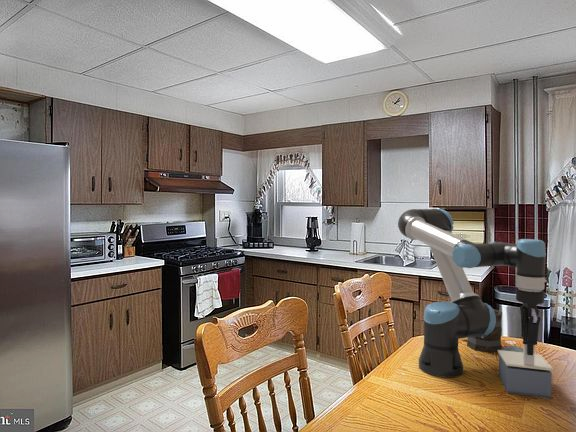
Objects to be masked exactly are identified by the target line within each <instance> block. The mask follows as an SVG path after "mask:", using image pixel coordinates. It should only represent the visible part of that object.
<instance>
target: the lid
mask: <svg viewBox="0 0 576 432" xmlns="http://www.w3.org/2000/svg"><path fill="white" fill-rule="evenodd" d="M497 353H498V356H499V355H500V356H501V358H502V359H503V361H504V362H505V364H506V366H514V367H522V368H531V369H540V370H549V371H550V372H554V369H555V368H553V367H552V365H551V364H549V362H547V360H546V359H545V358H544V357H543V356H542V355H541V354H539V353H534V365H527V364H524V363H523V352H514V351H504V350H498V352H497Z"/></svg>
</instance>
